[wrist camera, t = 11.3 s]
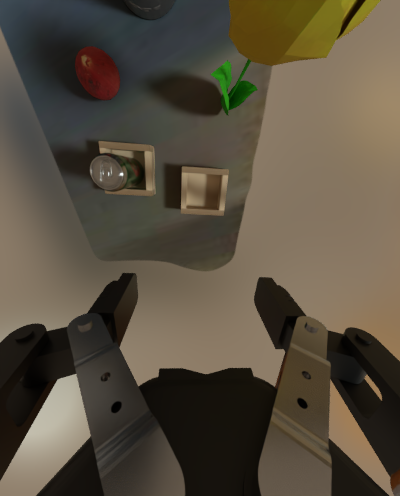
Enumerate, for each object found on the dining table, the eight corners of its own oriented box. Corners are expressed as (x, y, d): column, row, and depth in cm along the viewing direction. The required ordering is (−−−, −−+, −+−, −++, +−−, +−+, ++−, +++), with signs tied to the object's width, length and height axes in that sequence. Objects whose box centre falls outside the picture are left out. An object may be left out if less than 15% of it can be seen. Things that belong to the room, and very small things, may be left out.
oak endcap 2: (182, 166, 37) (182, 166, 33) (225, 169, 38) (228, 169, 34) (181, 209, 40) (180, 213, 37) (220, 211, 41) (223, 215, 37)
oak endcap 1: (107, 143, 35) (98, 141, 31) (154, 147, 35) (150, 145, 32) (113, 191, 38) (105, 193, 35) (155, 193, 39) (151, 196, 35)
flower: (251, 74, 32) (649, -520, 4) (246, 130, 35) (456, -6, 7) (201, 73, 31) (280, -590, 4) (200, 129, 35) (243, -16, 7)
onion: (123, 111, 33) (104, 95, 26) (89, 98, 32) (59, 78, 25) (128, 70, 31) (109, 40, 23) (92, 56, 30) (60, 20, 23)
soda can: (119, 184, 37) (89, 191, 26) (117, 156, 35) (83, 150, 24) (145, 186, 37) (126, 194, 26) (144, 158, 35) (124, 154, 24)
